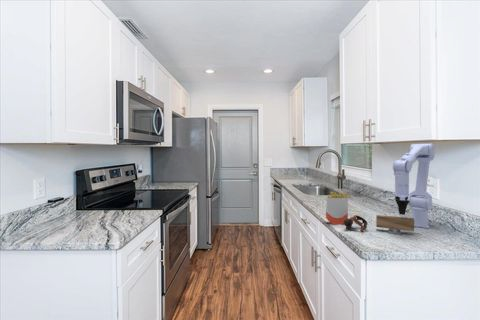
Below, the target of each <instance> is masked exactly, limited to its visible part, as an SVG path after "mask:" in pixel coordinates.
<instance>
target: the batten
mask: <svg viewBox="0 0 480 320" xmlns="http://www.w3.org/2000/svg"><path fill="white" fill-rule="evenodd" d="M375 217H376V220H375V221H376V222H375V223H376V225H375V226H376V228H381V229H388V230H389V229H398V230H400V231H408V232H415V226H414V218H412V217H405V216H404V217H403V216H395V215H392V216H391V215H383V214H382V215H381V214H376V216H375Z"/></svg>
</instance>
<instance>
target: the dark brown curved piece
mask: <svg viewBox="0 0 480 320" xmlns="http://www.w3.org/2000/svg"><path fill="white" fill-rule="evenodd" d="M361 221H362V222H361ZM354 223H355V225H358V226H359V227H360V229H359V231H360V232H361V233H363V232H364V231H365V230H367V228H368V224H369V223H368V221H367V220H366V219H365V218H364V217H362V216H360V215H356V214H354V215H353V216H351V217H349V218H348V219H345V220H344V224H343V226H345V228H346V230H350V229H351V228H352V227H353V224H354Z"/></svg>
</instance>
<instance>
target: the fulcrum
mask: <svg viewBox="0 0 480 320" xmlns="http://www.w3.org/2000/svg"><path fill="white" fill-rule="evenodd" d="M388 234H391V235H397V236H398V235H399V236H401V235H402V230H398V229H389V228H388Z"/></svg>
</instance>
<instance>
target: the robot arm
mask: <svg viewBox="0 0 480 320" xmlns="http://www.w3.org/2000/svg"><path fill="white" fill-rule="evenodd" d="M435 150H436V148H435V145H434V144H433V143H411V145H410V147H409V152H405V154H403V155H402V157H400V158H399V160H398V159H397V160H395V161H393V164H392V170H393V175H394V192H392V196H394V198H395V200H394V201H395V202H396V205H397V209H398V213H399V215H402V216H404V215H406V212H407V206H408V207H410V209H411V218H414V228H424V229H425V228H426V229H430V227H431V226H430V225H429V224H428V223H429V220H428V219H429V210H431V209H432V207H433V196H432V195H431V194H430V193H429V192H427V187H428V180H429V179H428V178H429V170H430V163H431V161H434V157H435V153H436V151H435ZM416 161H417V162H418V164H417V172H416V181H415V189H414V190H413V191H411V192H410V172H411V171H412V168H413V165H414V163H415V162H416Z"/></svg>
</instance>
